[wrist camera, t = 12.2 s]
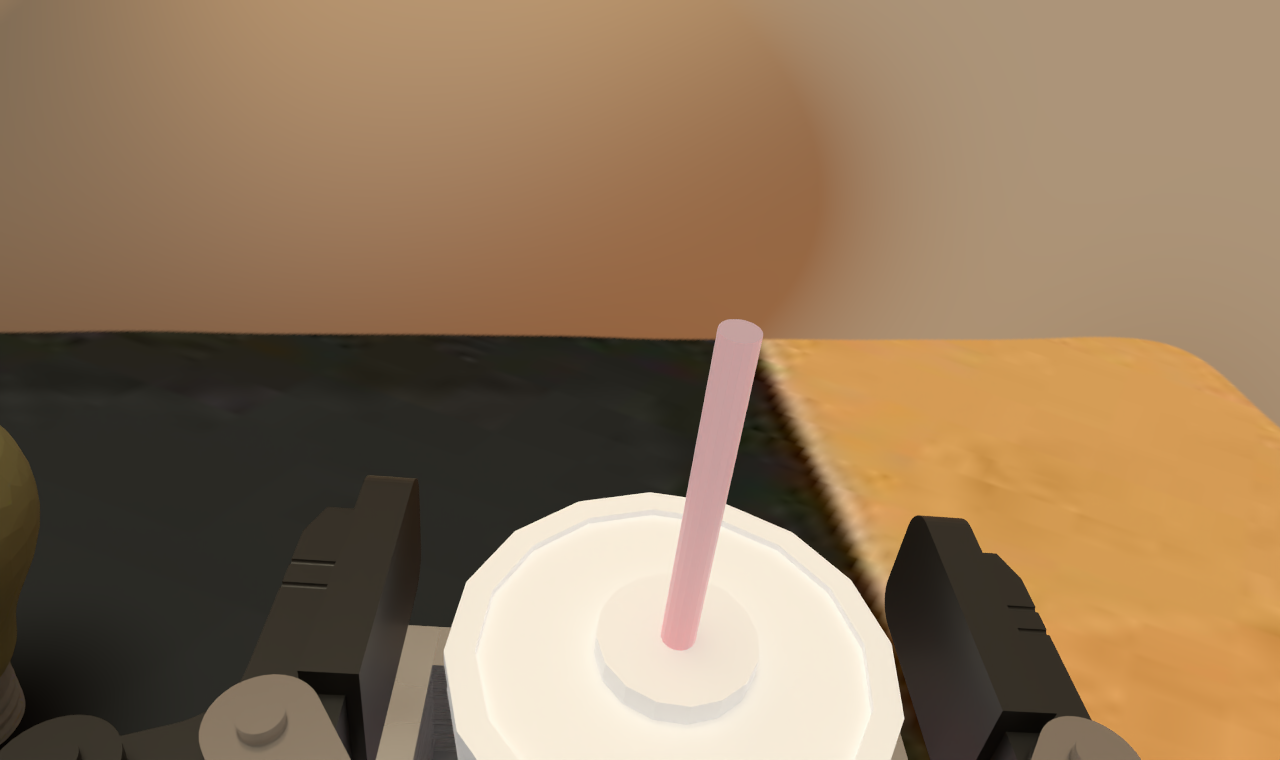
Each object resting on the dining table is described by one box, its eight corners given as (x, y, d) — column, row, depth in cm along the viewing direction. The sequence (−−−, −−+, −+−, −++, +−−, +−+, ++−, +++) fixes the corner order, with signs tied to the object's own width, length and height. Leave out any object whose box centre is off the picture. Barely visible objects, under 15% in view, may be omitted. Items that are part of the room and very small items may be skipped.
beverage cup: (671, 755, 21) (799, 183, 13) (838, 1034, 17) (1185, 440, 9) (407, 872, 18) (360, 237, 10) (527, 1242, 14) (612, 654, 6)
